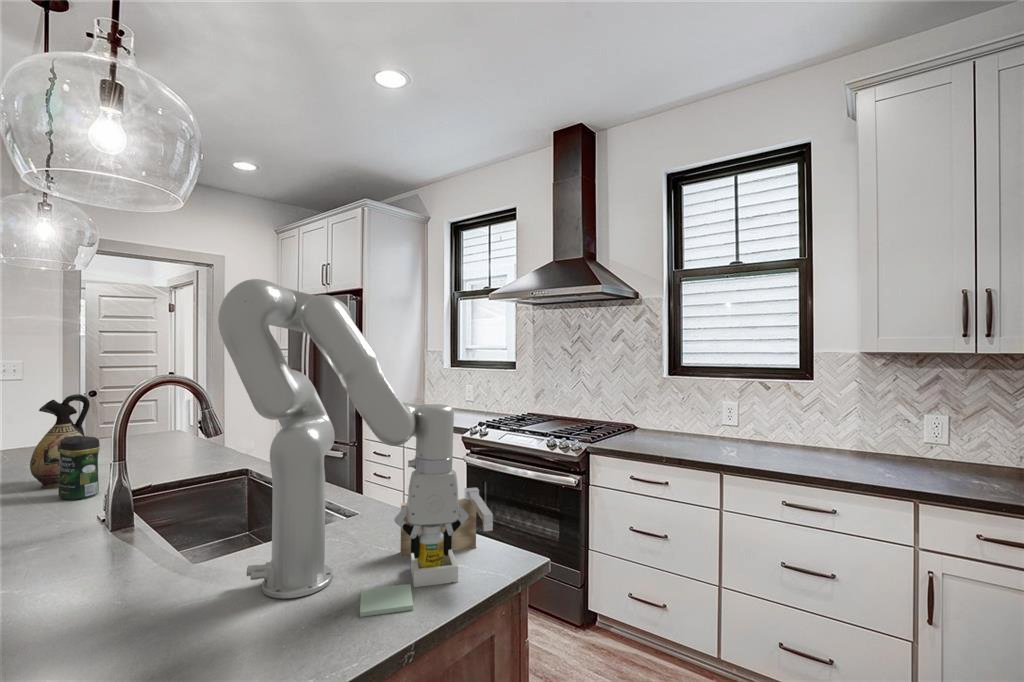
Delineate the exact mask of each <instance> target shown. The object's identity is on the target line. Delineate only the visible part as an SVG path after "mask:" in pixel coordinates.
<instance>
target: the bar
mask: <svg viewBox="0 0 1024 682" xmlns="http://www.w3.org/2000/svg"><path fill="white" fill-rule="evenodd" d="M463 495H464V498H465V499H466V500H470V502H471V503H472V505H473V506H474V508H475V510H476V514H478V516H479V517H480V520H481V521H482V531H483V532H491V531H492V532H493V530H494V529H493V526H494V522H493V521H494V514H493V512H492V511H491V510H490V508H489V507H488V506H487V504H486V502H485V501H484V500H483V498H482V497H481V495H480V489H479V488H478V487H467V488H464V494H463Z"/></svg>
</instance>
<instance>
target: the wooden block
mask: <svg viewBox="0 0 1024 682" xmlns="http://www.w3.org/2000/svg"><path fill="white" fill-rule="evenodd" d="M458 503H459V504H460V505H461V506H462V508H463V509H464V510H465V511H466V512H467V514H468V515H469V517H468V519H466V520H465V521H464V522H463V523H462V524H461V525H460V527H459V528H458V529H457V530H456V531H455V532H454V534H453V535H452V545H451V549H452V551H458V550H469V549H476V548H477V511H476V510H475V508H474V506H473V505H472V503H471V502H470V500H466V499H465V497H464V498H458ZM406 504H407V502H401V503H400V511H401V510H402V509H403V508H404V507H405V506H406ZM455 511H456V510H455ZM459 515H460V514H459V513H458V517H459ZM404 520H405V521H406V522H407V523H409V522H408V518H407V515H406V517H405V518H404ZM409 524H410V523H409ZM410 525H411V524H410ZM441 525H442V526H441V528H442V529H441V531H440V532H442V533H444V531H445V529H446V527H445V524H441ZM421 529H422V525H420V528H419V531H418V537H419V535H420V534H421V533H422V530H421ZM399 551H400V552H399V553H400V556H401V557H403V556H411V537H410V535H408V534H407V533H406V532H405V531H404V530H403V528H401V527H400V550H399ZM402 555H403V556H402Z"/></svg>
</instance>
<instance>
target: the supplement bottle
mask: <svg viewBox="0 0 1024 682" xmlns="http://www.w3.org/2000/svg"><path fill="white" fill-rule="evenodd" d="M441 526H442V525H441V524H435V525H422V529H421V530H422V533H421V534H420V535H419V553H418V567H419V569H421V568H430V567H439V566H444V540H445V538H444V534H443V533H442V532H440V531H441V529H442V528H441Z"/></svg>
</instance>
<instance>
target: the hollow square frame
mask: <svg viewBox="0 0 1024 682" xmlns="http://www.w3.org/2000/svg"><path fill="white" fill-rule="evenodd" d="M410 571H411V578H412V582H413V583H412V584H413V588H419V587H425V586H426V587H428V586H434V585H435V586H436V585H442V584H443V585H444V583H445V584H451V582H453V583H459V565H458V563H457V559H456V557H455V554H454V552H453V550H452V549H451V550H449V552H448V556H446V555H444V566H439V567H430V568H421V569H419V567H418V558H416V559H415V558H414V553H411V555H410Z"/></svg>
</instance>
